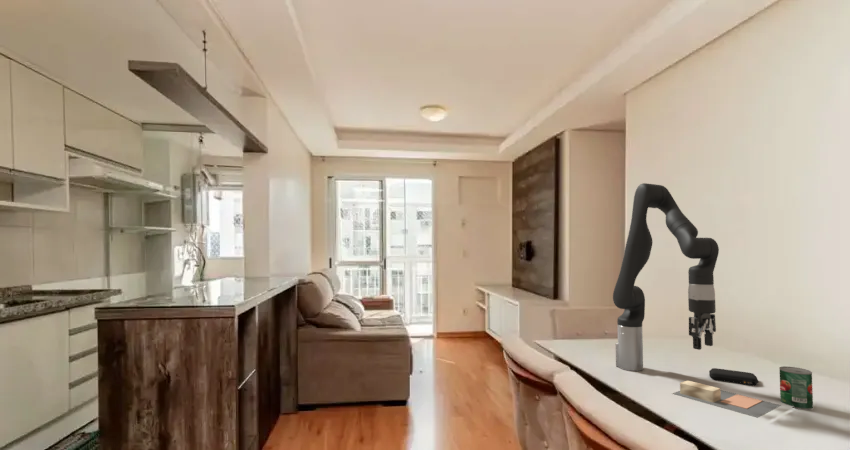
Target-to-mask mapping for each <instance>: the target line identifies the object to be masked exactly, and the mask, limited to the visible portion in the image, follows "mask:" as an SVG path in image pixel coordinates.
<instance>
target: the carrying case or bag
mask: <svg viewBox="0 0 850 450" xmlns="http://www.w3.org/2000/svg"><path fill="white" fill-rule="evenodd" d="M708 373H709V374H708V376H709V378H710V379H711V380H714V381H720V382H726V383H733V384H740V385H745V384H746V385H747V386H753V385H754V386H756V385H758V384H759V379H758V377H757V376H756V375H755V374H754V373H752V372H748V371H747V372H746V371H739V370H731V369H724V368H717V367H716V368H715V367H713V368H711V369H710V370H709V372H708Z"/></svg>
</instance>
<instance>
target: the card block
mask: <svg viewBox="0 0 850 450" xmlns="http://www.w3.org/2000/svg"><path fill="white" fill-rule="evenodd" d="M721 390H722V389H721V388H720V387H717V386H712V385H708V384H704V383H699V382H697V381H692V380H685V381H682V382H679V391H680V394H684V395H688V396H691V397H695V398H698V399H702V400H706V401H709V402H713V403H714V402H716V401H719V400H721Z"/></svg>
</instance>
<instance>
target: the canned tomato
mask: <svg viewBox="0 0 850 450" xmlns="http://www.w3.org/2000/svg"><path fill="white" fill-rule="evenodd" d="M778 367H779V366H778ZM778 369H779V391H780V393H779V394H780V395H779V397H780V398H779V399H780V402H781V403H783V404H784V405H788V406H790V407H792V409H798V410H805V411H806V410H807V411H810V410H813V409H814V401H813V400H814V397H813V394H814V393H813V392H814V391H813V371H811V370H809V369H806V368H802V367H801V368H800V367H795V366H780V367H779V368H778Z"/></svg>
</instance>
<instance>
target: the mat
mask: <svg viewBox="0 0 850 450" xmlns="http://www.w3.org/2000/svg"><path fill="white" fill-rule="evenodd" d="M720 390H721V400H719V401H716V402H714V403H713V402H709V401H706V400H702V399H698V398H695V397H691V396H688V395H684V394H680V390H678V391H674V392H673V393H671V394H672V395H674V396H677V397H678V396H679V397H681V398H686V399H689V400H692V401H697V402H700V403H704V404H706V405H710V406H713V407H716V408H717V407H718V408H721V409H724V410H729V411H731V412H732V411H733V412H735V413H739V414H742V415H747V416H750V417H753V418H757V419H758V418H761V416H764V415H765V414H767V413H769V412H771V411H773V410H775V409H777V408H779V407H780V406H781V407H782V404H779V403H775V402H770V401H766V400H762V399H758V398H754V397H750V396H746V395H742V394H738V393H734V392H731V391H726V390H724V389H723V390H722V389H720Z"/></svg>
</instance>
